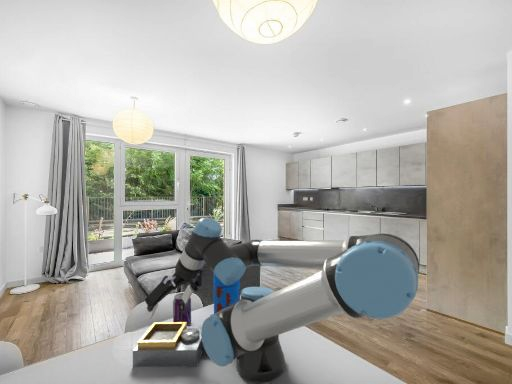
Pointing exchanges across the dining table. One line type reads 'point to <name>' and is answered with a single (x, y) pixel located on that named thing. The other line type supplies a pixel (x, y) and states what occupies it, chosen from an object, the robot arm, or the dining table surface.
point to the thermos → (225, 294)
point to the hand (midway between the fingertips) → (167, 307)
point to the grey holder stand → (169, 346)
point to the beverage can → (181, 309)
